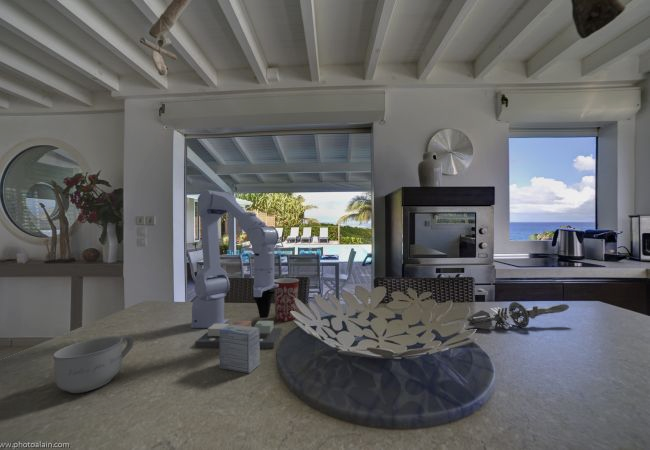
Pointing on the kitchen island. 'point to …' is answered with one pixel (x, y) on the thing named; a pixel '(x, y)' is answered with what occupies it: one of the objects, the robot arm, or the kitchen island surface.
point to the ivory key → (216, 329)
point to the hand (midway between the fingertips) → (264, 317)
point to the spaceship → (512, 315)
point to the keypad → (264, 339)
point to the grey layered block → (239, 348)
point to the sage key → (265, 326)
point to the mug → (285, 298)
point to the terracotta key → (242, 323)
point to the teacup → (89, 363)
